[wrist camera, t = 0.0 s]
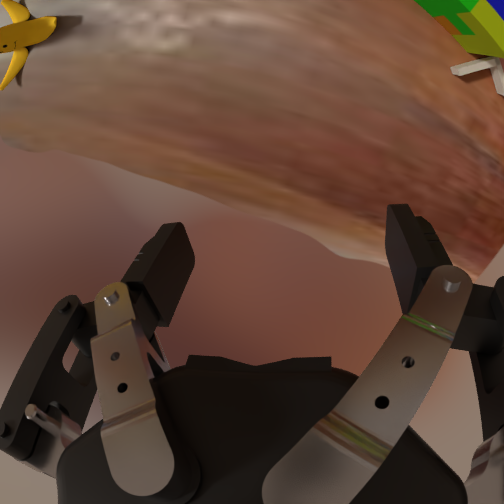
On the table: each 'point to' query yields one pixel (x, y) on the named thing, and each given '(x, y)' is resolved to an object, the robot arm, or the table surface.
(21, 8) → the banana peel
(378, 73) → the table surface
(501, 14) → the puzzle toy
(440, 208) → the table surface
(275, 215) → the table surface
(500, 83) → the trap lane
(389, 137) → the table surface
